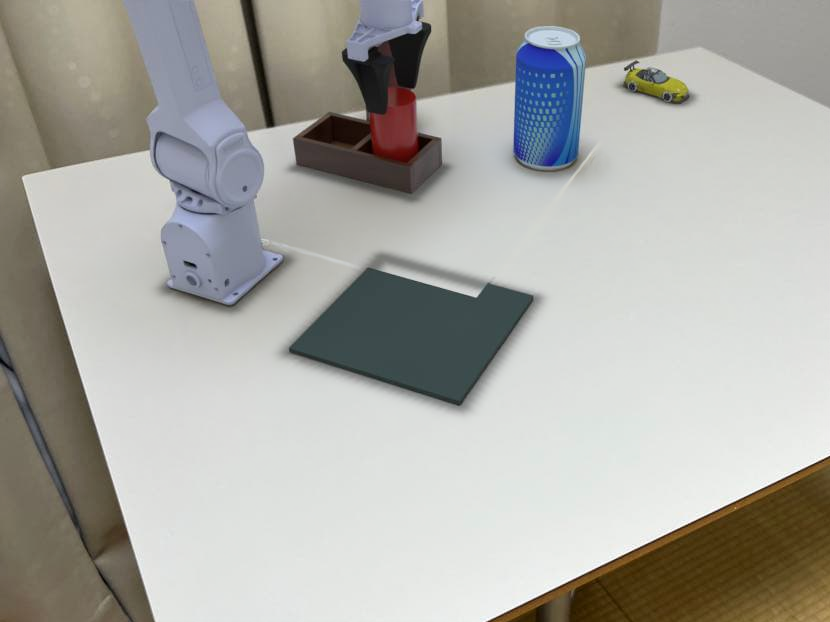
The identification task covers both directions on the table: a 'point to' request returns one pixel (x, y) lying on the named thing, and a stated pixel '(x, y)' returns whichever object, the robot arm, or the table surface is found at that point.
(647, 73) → the toy car
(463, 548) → the table surface
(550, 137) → the beer can
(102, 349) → the table surface
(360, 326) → the mat
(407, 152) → the can
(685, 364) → the table surface
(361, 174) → the holder
